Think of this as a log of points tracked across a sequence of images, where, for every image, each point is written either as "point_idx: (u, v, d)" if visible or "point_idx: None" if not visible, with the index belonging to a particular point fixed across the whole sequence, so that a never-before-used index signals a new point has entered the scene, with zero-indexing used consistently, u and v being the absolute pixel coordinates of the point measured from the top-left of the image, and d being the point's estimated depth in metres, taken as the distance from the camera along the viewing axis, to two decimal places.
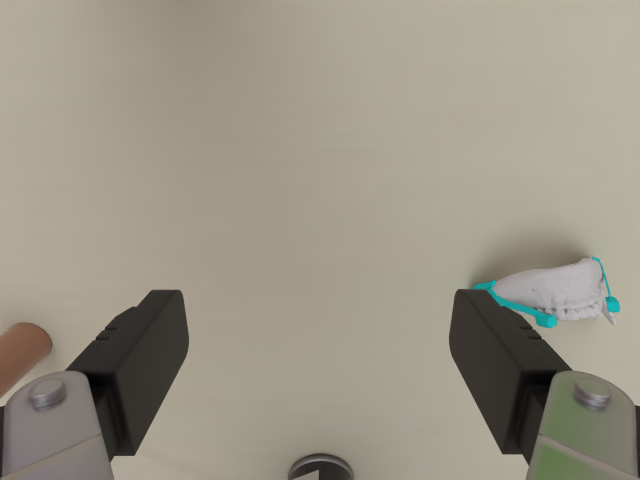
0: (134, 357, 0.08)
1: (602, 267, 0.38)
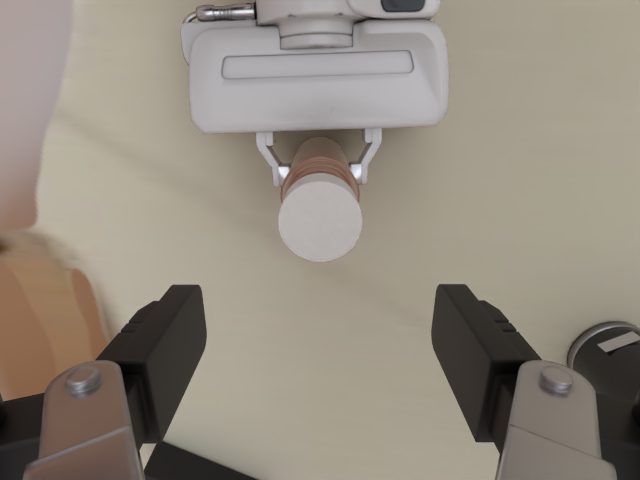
0: (161, 348, 0.08)
1: None
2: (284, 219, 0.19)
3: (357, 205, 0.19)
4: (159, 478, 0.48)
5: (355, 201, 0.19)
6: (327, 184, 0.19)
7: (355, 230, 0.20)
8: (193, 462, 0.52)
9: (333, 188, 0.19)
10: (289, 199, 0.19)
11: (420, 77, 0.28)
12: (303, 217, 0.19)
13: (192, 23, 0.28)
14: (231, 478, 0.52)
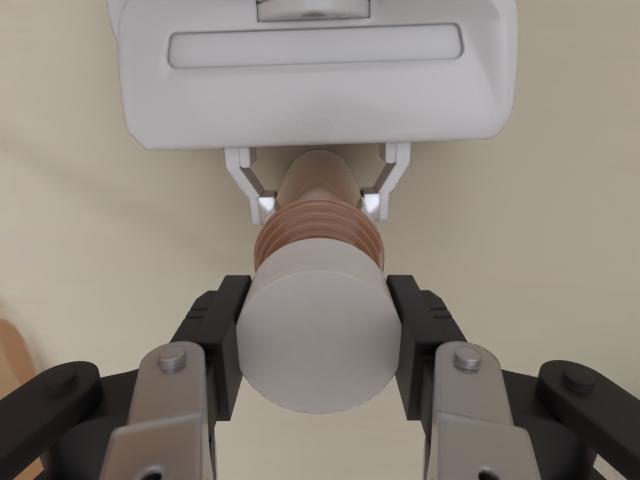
0: (230, 332, 0.09)
1: None
2: (246, 341, 0.10)
3: (395, 316, 0.09)
4: None
5: (391, 308, 0.09)
6: (333, 276, 0.09)
7: (389, 360, 0.10)
8: None
9: (346, 284, 0.09)
10: (255, 305, 0.09)
11: (472, 65, 0.18)
12: (284, 337, 0.10)
13: None
14: None
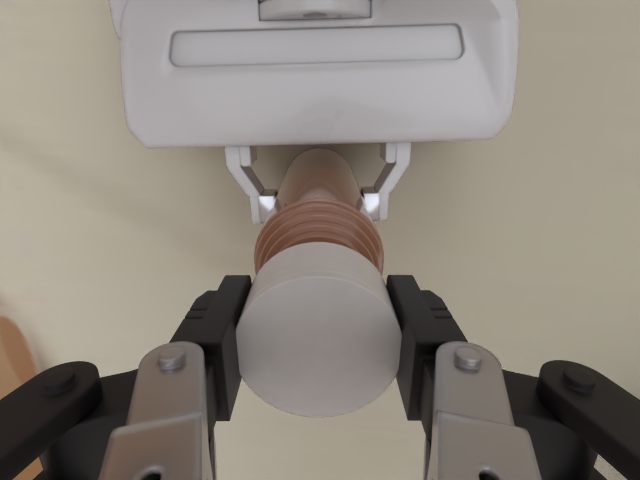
0: (229, 332, 0.09)
1: None
2: (311, 408, 0.10)
3: (277, 288, 0.09)
4: None
5: (269, 291, 0.09)
6: (238, 342, 0.10)
7: (333, 289, 0.09)
8: None
9: (245, 331, 0.10)
10: (272, 400, 0.10)
11: (473, 66, 0.18)
12: (306, 380, 0.10)
13: None
14: None
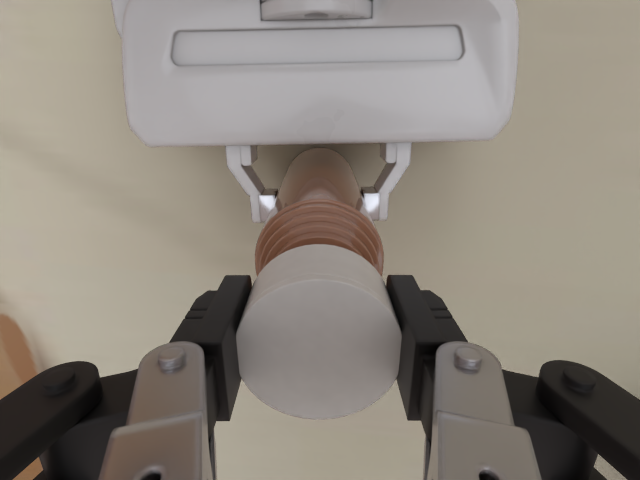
0: (229, 332, 0.09)
1: None
2: (390, 361, 0.10)
3: (249, 387, 0.10)
4: None
5: (253, 391, 0.10)
6: (307, 416, 0.10)
7: (246, 344, 0.10)
8: None
9: (296, 409, 0.10)
10: (377, 393, 0.10)
11: (473, 67, 0.19)
12: (352, 365, 0.10)
13: None
14: None
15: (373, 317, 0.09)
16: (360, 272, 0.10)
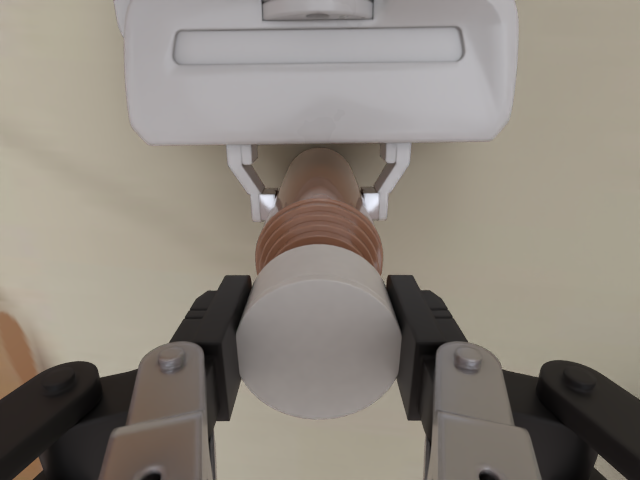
0: (229, 332, 0.09)
1: None
2: (324, 292, 0.09)
3: (356, 411, 0.10)
4: None
5: (363, 406, 0.10)
6: (397, 364, 0.10)
7: (307, 410, 0.10)
8: None
9: (388, 373, 0.10)
10: (368, 301, 0.09)
11: (473, 68, 0.19)
12: (330, 327, 0.09)
13: None
14: None
15: (271, 311, 0.09)
16: (249, 299, 0.10)
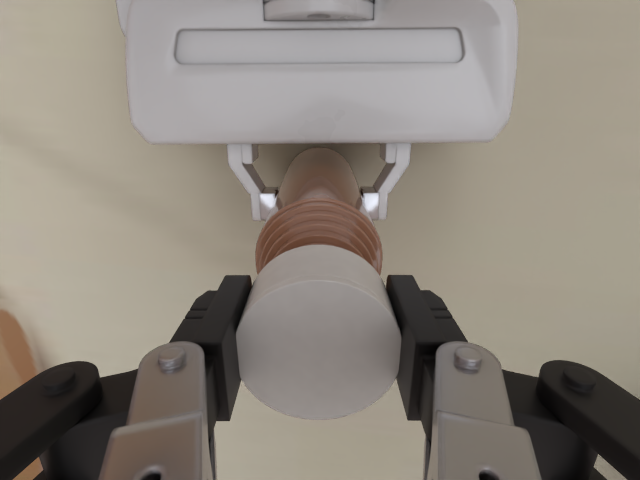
0: (229, 332, 0.09)
1: None
2: (246, 352, 0.10)
3: (392, 322, 0.09)
4: None
5: (388, 314, 0.09)
6: (329, 285, 0.09)
7: (389, 365, 0.10)
8: None
9: (342, 292, 0.09)
10: (252, 316, 0.09)
11: (473, 69, 0.19)
12: (283, 347, 0.10)
13: None
14: None
15: (269, 391, 0.10)
16: None
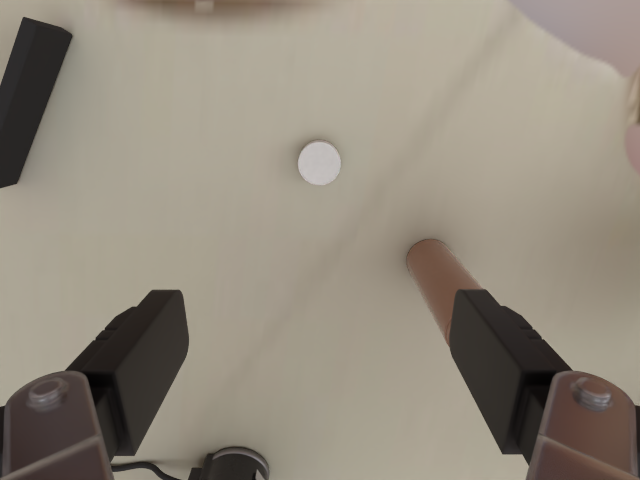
0: (134, 357, 0.08)
1: None
2: (318, 182, 0.39)
3: (308, 145, 0.38)
4: (30, 49, 0.33)
5: (306, 146, 0.38)
6: (299, 161, 0.39)
7: (322, 145, 0.38)
8: (45, 86, 0.37)
9: (301, 158, 0.38)
10: (308, 179, 0.39)
11: None
12: (316, 172, 0.39)
13: None
14: (26, 137, 0.39)
15: (330, 176, 0.39)
16: None
